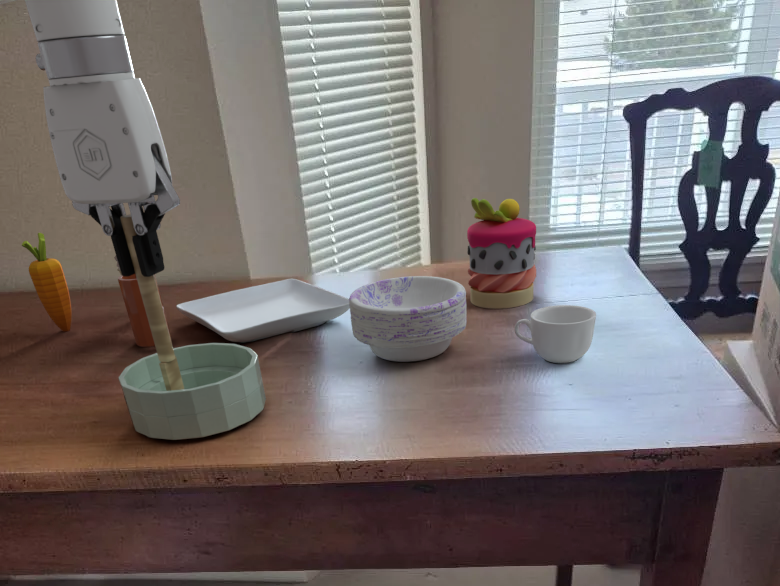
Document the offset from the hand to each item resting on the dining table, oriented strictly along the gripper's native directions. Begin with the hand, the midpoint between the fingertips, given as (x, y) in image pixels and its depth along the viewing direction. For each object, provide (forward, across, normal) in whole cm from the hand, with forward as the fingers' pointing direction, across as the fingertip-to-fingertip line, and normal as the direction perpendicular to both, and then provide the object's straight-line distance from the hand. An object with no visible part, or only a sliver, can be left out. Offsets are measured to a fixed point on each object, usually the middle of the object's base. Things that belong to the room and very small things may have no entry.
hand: (143, 272), depth 76 cm
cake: (+17, +27, +49) cm, 58 cm away
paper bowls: (+17, +20, +25) cm, 36 cm away
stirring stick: (+15, 0, 0) cm, 15 cm away
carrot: (+17, -39, +26) cm, 50 cm away
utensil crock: (+17, -20, +23) cm, 35 cm away
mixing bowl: (+17, +2, +1) cm, 17 cm away
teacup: (+17, +39, +25) cm, 49 cm away
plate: (+17, -7, +34) cm, 38 cm away
